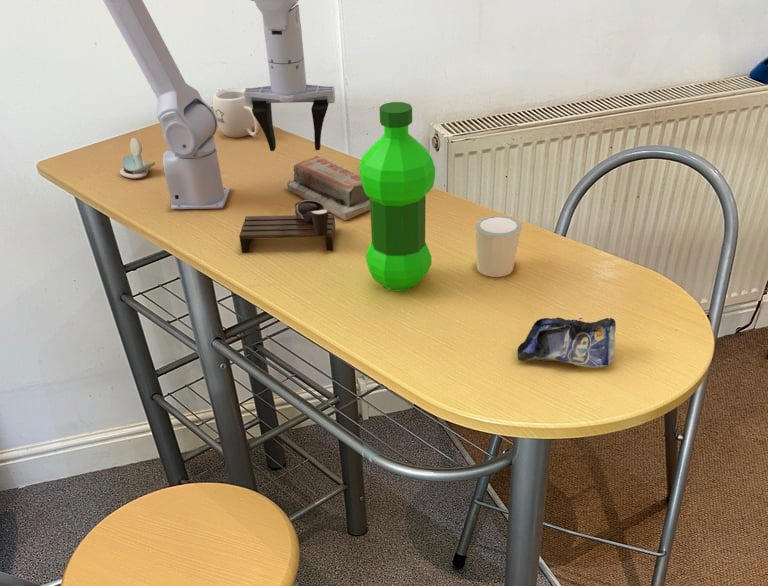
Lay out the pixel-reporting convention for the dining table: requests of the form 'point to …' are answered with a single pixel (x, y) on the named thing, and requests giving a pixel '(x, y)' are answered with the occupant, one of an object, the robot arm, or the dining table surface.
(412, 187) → the plastic bottle
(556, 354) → the snack package
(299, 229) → the slatted bench
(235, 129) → the mug
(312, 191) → the packaged product
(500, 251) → the shot glass
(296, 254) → the dining table surface
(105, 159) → the dining table surface
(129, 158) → the pacifier
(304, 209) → the heeled mule
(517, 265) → the dining table surface
